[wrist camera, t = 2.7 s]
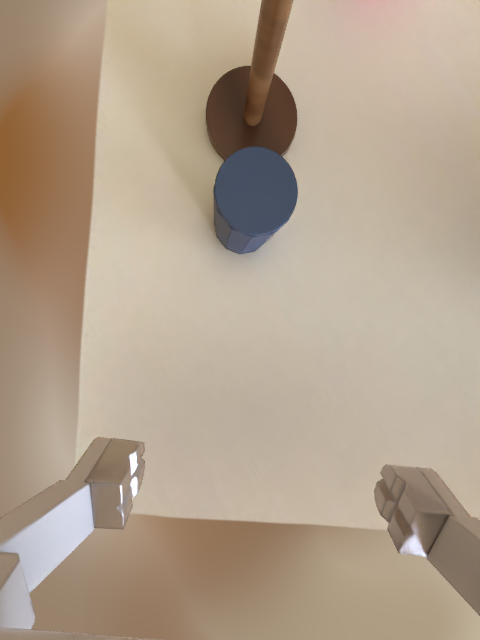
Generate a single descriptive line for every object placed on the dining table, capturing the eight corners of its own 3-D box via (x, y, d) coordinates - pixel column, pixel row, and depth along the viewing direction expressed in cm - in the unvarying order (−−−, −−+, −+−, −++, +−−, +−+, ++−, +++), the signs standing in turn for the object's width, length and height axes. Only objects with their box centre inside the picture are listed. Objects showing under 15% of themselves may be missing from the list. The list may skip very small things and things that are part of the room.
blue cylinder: (245, 184, 28) (262, 127, 18) (280, 229, 29) (314, 198, 19) (203, 220, 28) (196, 183, 18) (239, 264, 29) (251, 251, 19)
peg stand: (256, 55, 27) (298, -181, 13) (311, 132, 28) (399, -11, 15) (187, 114, 27) (159, -62, 13) (245, 189, 28) (272, 97, 15)
